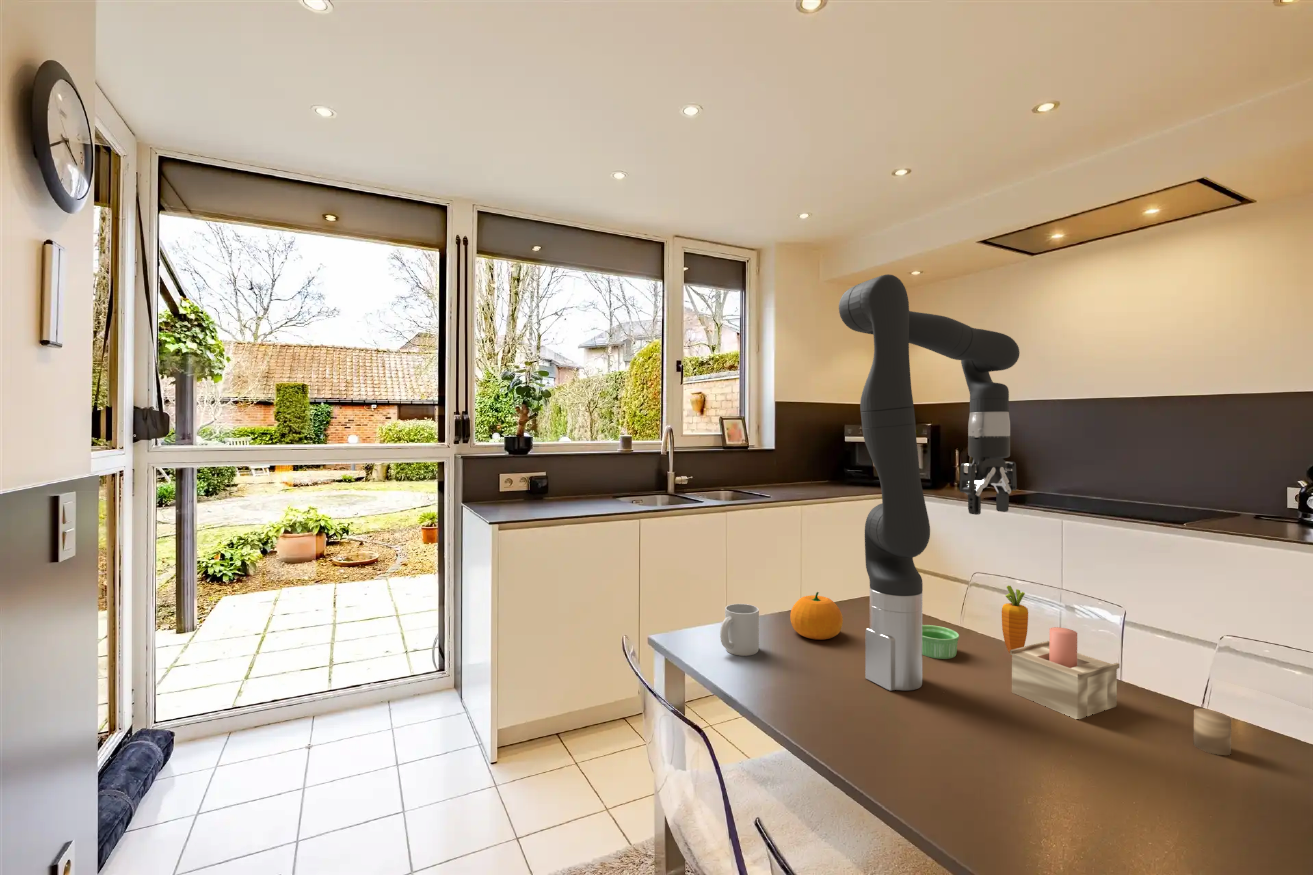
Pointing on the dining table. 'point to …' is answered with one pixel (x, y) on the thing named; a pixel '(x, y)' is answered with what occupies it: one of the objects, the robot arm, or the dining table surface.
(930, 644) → the ramekin
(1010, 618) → the carrot
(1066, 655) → the long dowel
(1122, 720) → the dining table surface
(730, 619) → the cup
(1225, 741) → the short dowel
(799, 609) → the fruit
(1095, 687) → the hole block
